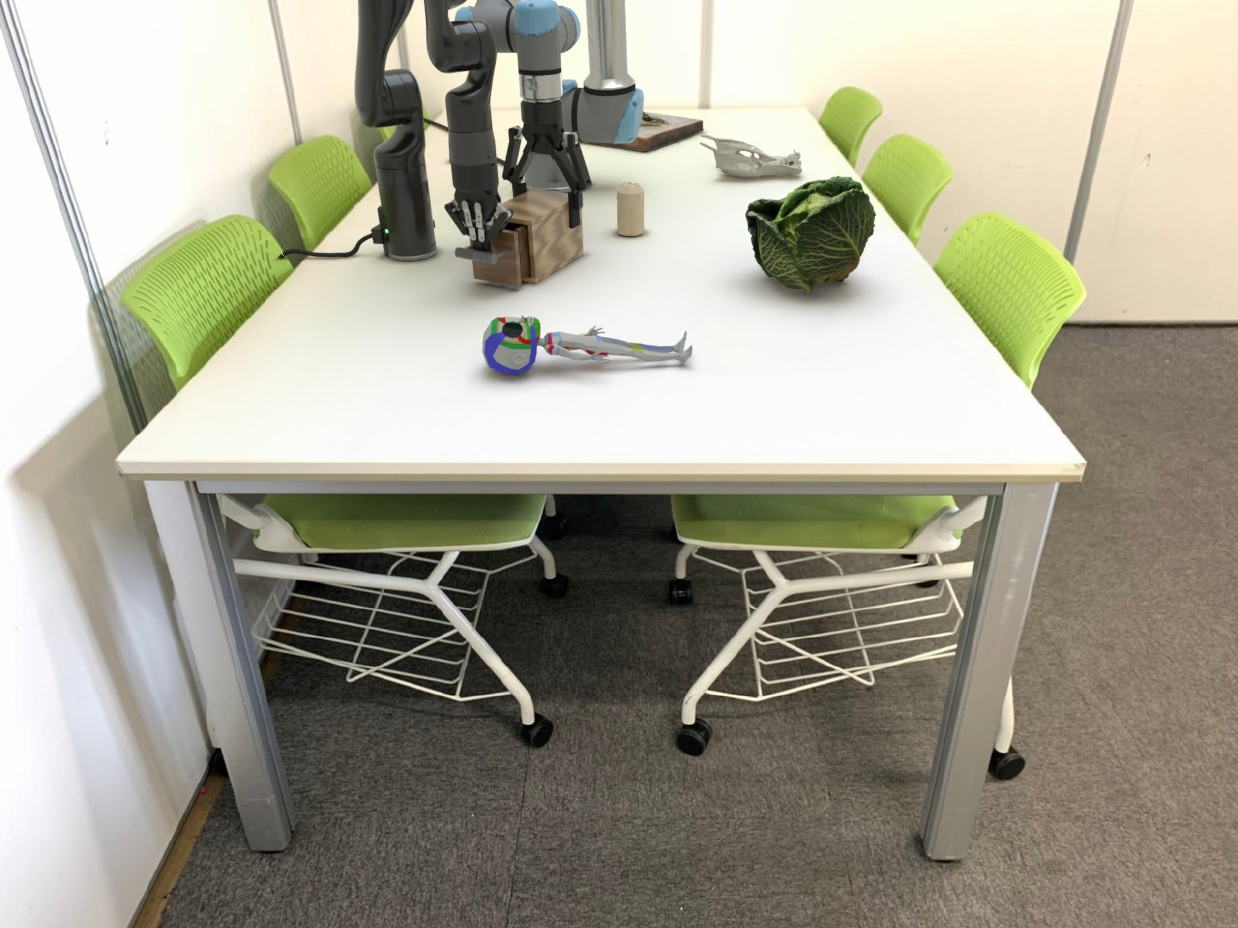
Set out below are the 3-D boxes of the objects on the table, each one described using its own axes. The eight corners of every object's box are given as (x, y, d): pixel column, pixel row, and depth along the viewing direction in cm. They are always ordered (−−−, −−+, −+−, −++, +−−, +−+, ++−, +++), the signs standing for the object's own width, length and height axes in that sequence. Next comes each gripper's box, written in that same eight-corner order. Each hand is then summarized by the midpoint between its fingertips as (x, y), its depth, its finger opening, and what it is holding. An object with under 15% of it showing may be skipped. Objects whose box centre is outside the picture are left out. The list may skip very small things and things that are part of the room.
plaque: (647, 125, 237) (559, 112, 252) (647, 153, 241) (560, 139, 256) (706, 107, 258) (622, 97, 273) (705, 133, 262) (622, 121, 277)
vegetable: (771, 309, 166) (722, 214, 159) (855, 252, 168) (810, 155, 160) (822, 325, 148) (769, 219, 140) (916, 260, 149) (868, 151, 142)
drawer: (499, 298, 153) (494, 243, 148) (454, 289, 157) (448, 235, 152) (565, 259, 169) (562, 208, 164) (522, 251, 173) (518, 202, 168)
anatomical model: (702, 130, 224) (803, 129, 220) (702, 168, 229) (801, 167, 225) (697, 145, 212) (805, 144, 208) (697, 184, 216) (802, 184, 213)
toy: (697, 344, 127) (483, 326, 122) (687, 397, 131) (480, 382, 126) (685, 315, 135) (485, 298, 130) (676, 366, 139) (482, 351, 135)
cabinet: (535, 284, 161) (531, 220, 155) (486, 274, 165) (480, 213, 159) (583, 254, 173) (581, 195, 167) (536, 246, 178) (532, 188, 172)
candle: (647, 229, 186) (647, 180, 180) (639, 237, 181) (639, 187, 176) (622, 227, 187) (621, 178, 182) (613, 235, 183) (612, 185, 177)
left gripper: (426, 158, 145) (439, 262, 154) (494, 167, 139) (503, 273, 149) (453, 148, 150) (464, 248, 160) (520, 156, 145) (527, 259, 154)
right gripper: (475, 97, 160) (486, 220, 171) (588, 107, 150) (592, 236, 162) (499, 90, 165) (508, 209, 177) (609, 100, 156) (612, 225, 168)
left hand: (483, 260), depth 154 cm, fingers closed
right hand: (548, 222), depth 170 cm, fingers closed on cabinet, 11 cm apart
